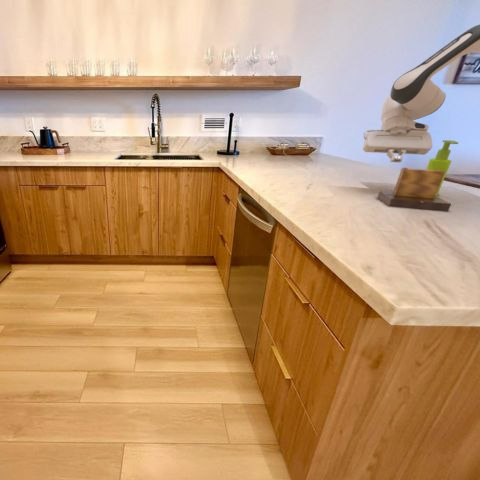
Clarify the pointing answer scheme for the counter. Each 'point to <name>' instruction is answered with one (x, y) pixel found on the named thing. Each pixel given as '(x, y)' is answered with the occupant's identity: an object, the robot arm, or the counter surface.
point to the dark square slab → (413, 202)
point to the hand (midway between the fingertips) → (396, 161)
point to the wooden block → (418, 183)
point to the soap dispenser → (441, 160)
